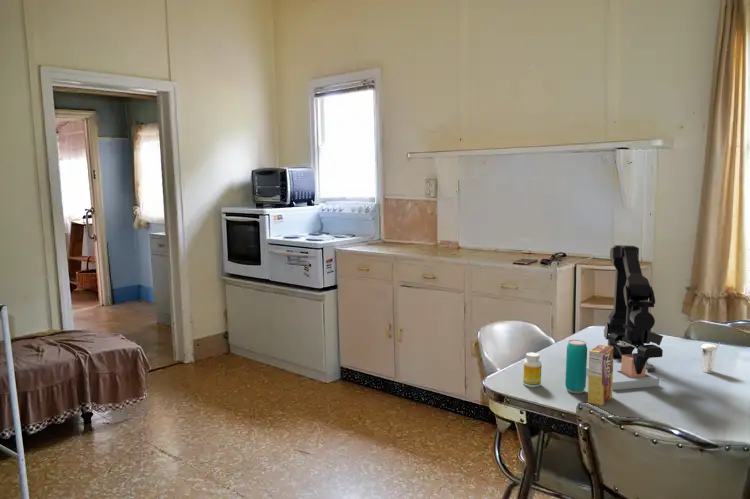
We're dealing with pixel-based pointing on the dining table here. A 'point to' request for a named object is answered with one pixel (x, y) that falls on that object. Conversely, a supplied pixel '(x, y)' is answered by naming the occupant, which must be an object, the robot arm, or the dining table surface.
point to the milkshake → (708, 357)
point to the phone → (648, 368)
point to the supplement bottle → (532, 370)
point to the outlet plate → (629, 379)
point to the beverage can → (576, 366)
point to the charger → (630, 367)
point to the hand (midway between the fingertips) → (633, 371)
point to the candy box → (600, 374)
